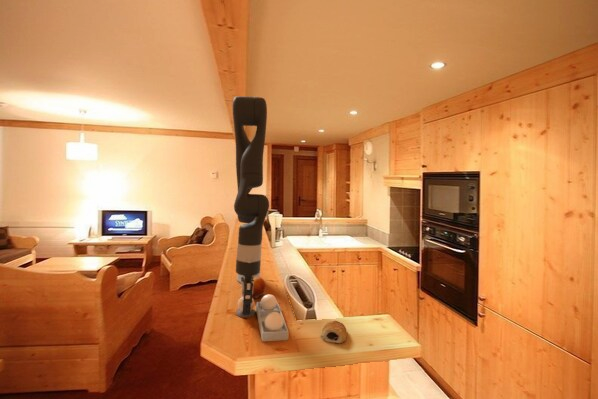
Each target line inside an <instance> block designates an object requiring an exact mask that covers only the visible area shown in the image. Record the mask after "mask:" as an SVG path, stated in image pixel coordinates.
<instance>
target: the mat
mask: <svg viewBox="0 0 598 399" xmlns="http://www.w3.org/2000/svg"><path fill="white" fill-rule="evenodd" d="M235 314H236V316H237V317H238V318H244V319H245V318H251V317H254V316H255V315H256V309H254V308H253V309H252V310H251V311H250V315H243V312H241V311H240V310H239V308H238V309H237V310H236V312H235Z"/></svg>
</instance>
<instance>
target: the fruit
mask: <svg viewBox="0 0 598 399" xmlns="http://www.w3.org/2000/svg"><path fill="white" fill-rule="evenodd" d="M253 280H254V285H253V295H252V298H253V299H254V298H256V299H259V297H260V296H265V295H264V291H265V288H266V284H265V283H266V281H265V280H264V278H262V277H261V276H260V277H257V276H256V277H254V279H253Z"/></svg>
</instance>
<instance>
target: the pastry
mask: <svg viewBox="0 0 598 399" xmlns="http://www.w3.org/2000/svg"><path fill="white" fill-rule="evenodd" d="M347 335H348V332H347V328H346V327H345V324H344V323H343V322H340V321H338V320H333V321H329V322H327V323H326V324H325V325H324V327H323V328H322V331H321V334H320V337H321V339H322V340H323V341H325V342H328V343H335V344H343V343H345V342H346V340H347Z"/></svg>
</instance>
